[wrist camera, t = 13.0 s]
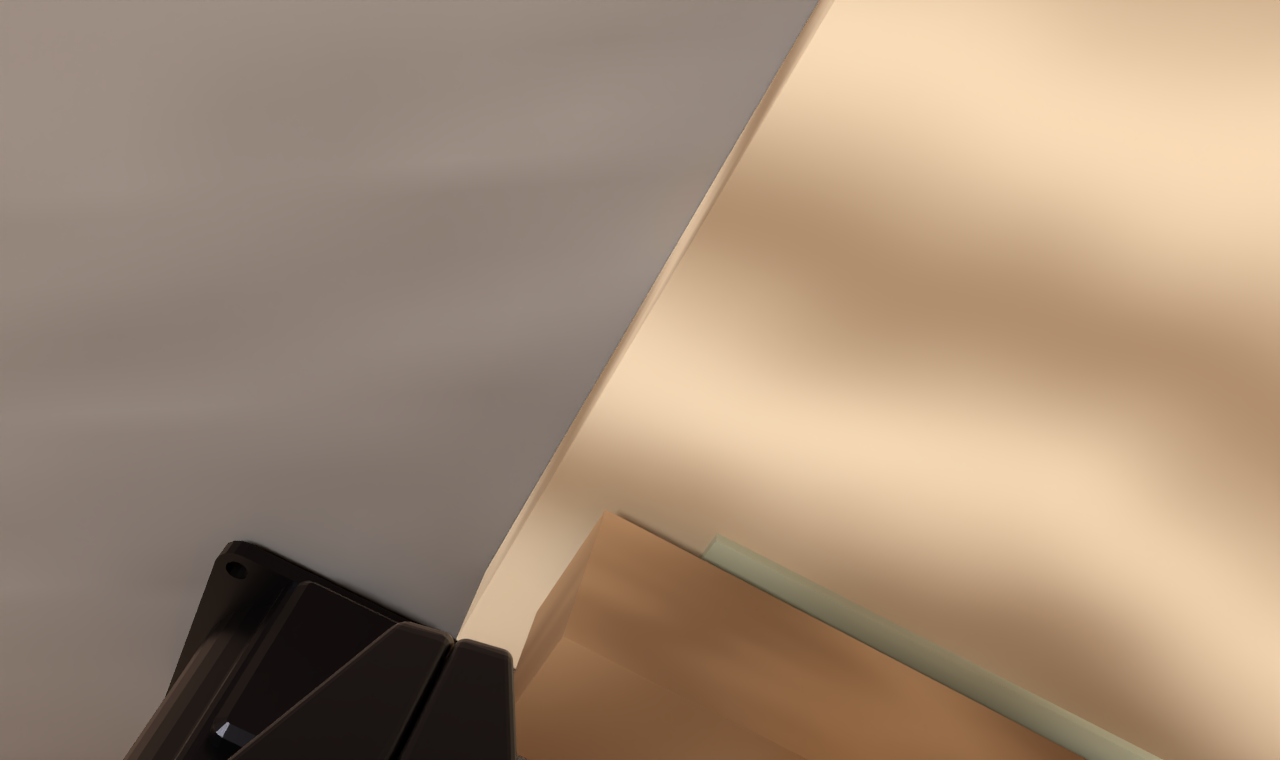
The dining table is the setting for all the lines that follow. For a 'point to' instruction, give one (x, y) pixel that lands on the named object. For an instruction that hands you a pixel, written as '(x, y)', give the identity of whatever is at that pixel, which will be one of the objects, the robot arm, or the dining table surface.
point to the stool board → (976, 367)
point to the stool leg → (724, 673)
